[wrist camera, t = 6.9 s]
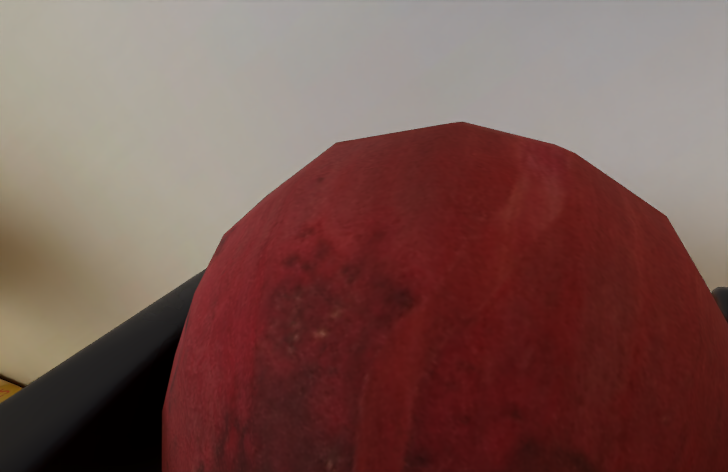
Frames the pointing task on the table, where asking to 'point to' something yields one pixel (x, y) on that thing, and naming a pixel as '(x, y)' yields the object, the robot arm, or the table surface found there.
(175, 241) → the table surface
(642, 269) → the onion
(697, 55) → the table surface
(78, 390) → the robot arm
